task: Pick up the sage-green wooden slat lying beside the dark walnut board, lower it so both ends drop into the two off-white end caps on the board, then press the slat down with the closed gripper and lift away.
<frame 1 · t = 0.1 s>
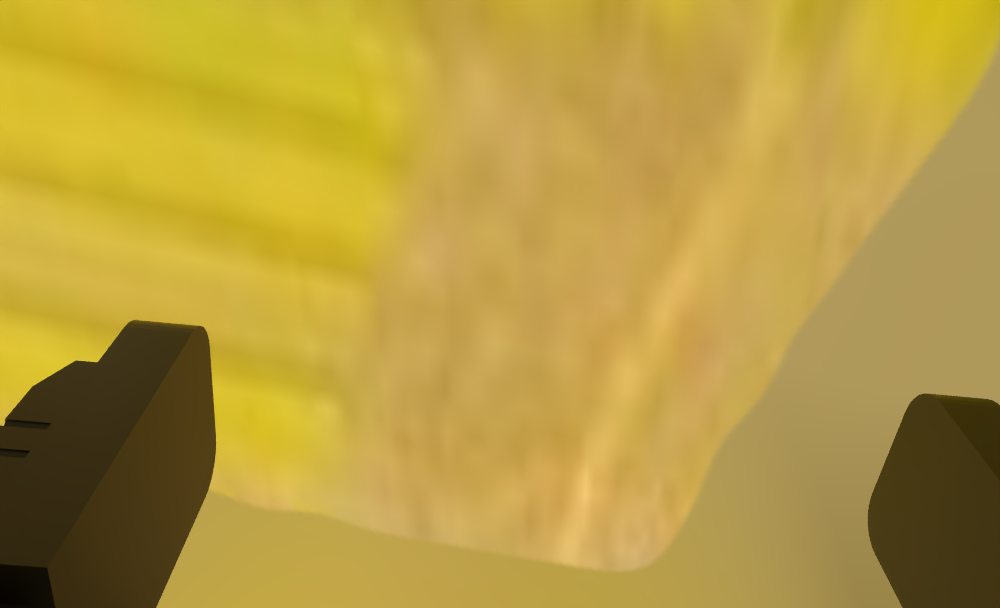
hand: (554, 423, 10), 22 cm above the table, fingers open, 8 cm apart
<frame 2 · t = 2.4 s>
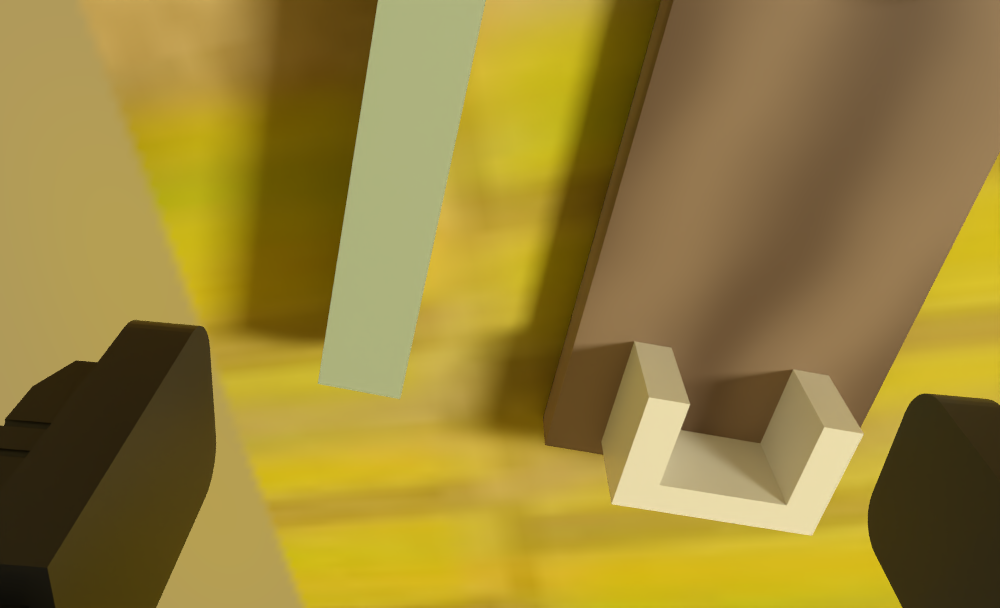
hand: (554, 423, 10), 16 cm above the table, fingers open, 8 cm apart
slat: (420, 86, 25), on the table
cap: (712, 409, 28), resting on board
board: (787, 163, 26), on the table
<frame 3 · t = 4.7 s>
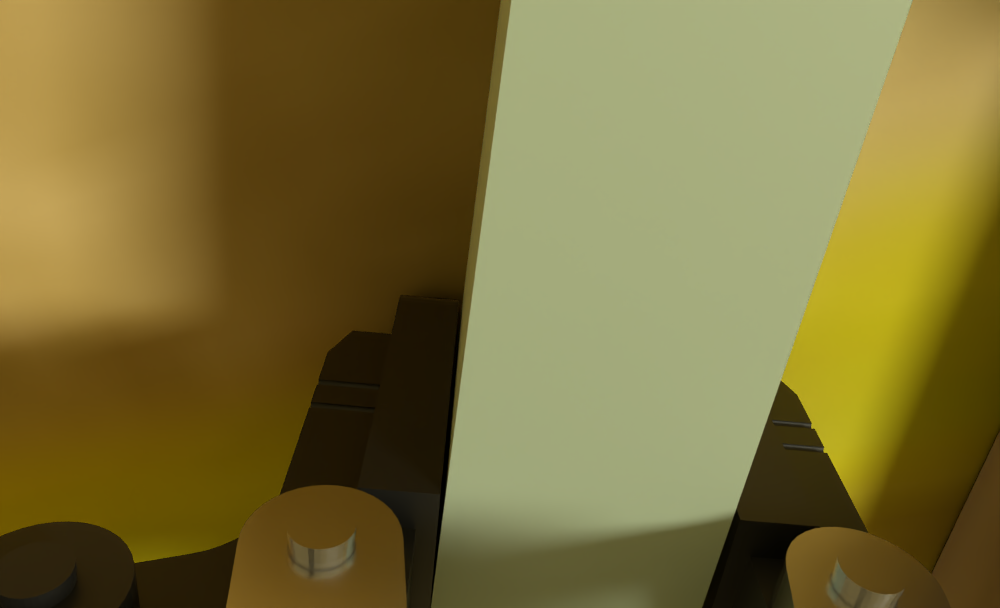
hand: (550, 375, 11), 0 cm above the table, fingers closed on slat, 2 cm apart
slat: (548, 358, 11), on the table, touching gripper
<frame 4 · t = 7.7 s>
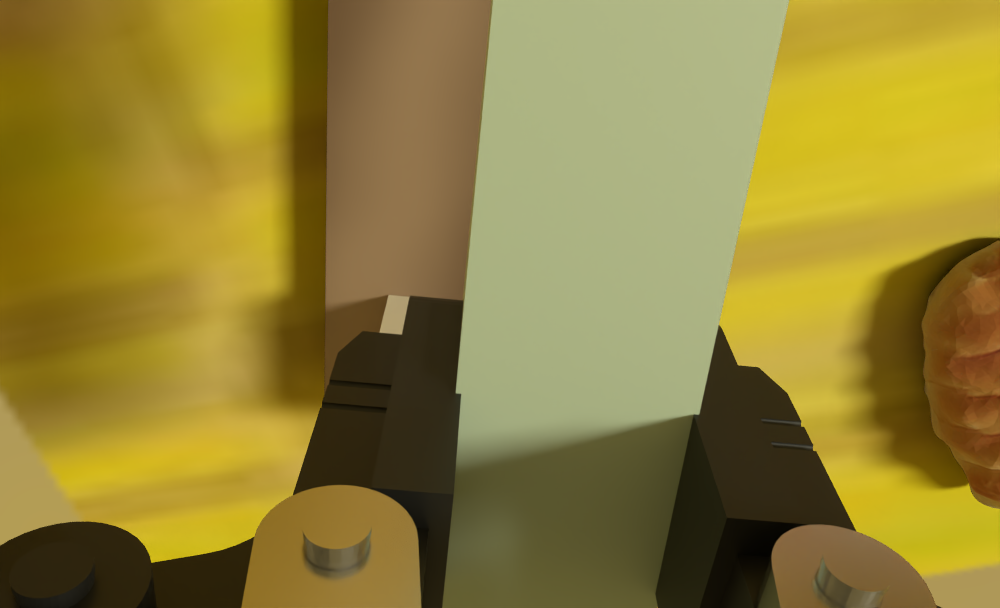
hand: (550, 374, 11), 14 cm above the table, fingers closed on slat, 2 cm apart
slat: (542, 337, 13), point 13 cm above the table, tilted 7°, touching gripper
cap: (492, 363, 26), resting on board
board: (523, 85, 23), on the table
when the fingers open (3 cm above the table, at t = 10.4 s): slat stays where it is, resting on board.
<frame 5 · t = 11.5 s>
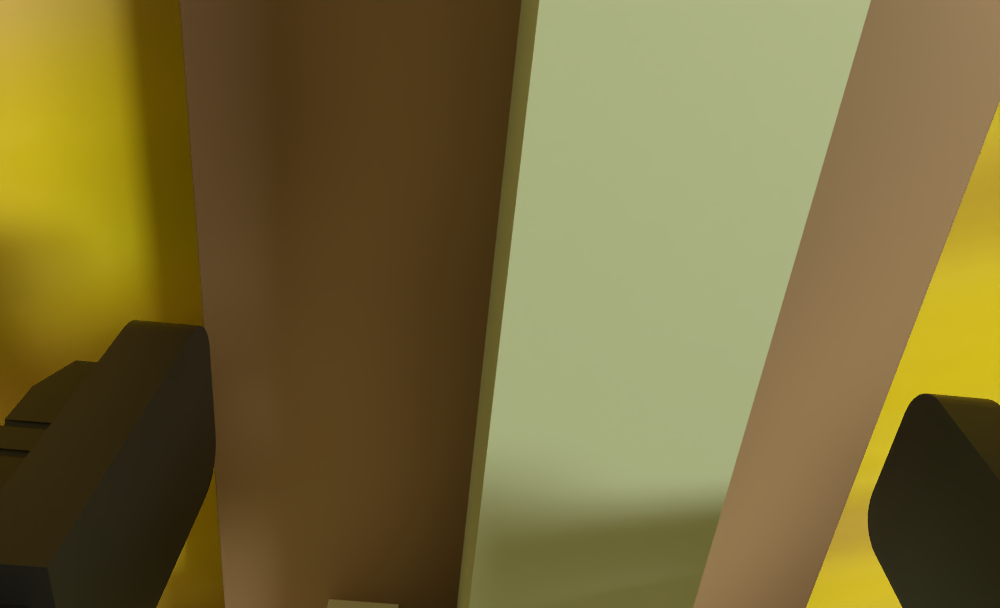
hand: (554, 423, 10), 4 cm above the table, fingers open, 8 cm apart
slat: (570, 336, 12), point 1 cm above the table, touching board
board: (554, 267, 13), on the table
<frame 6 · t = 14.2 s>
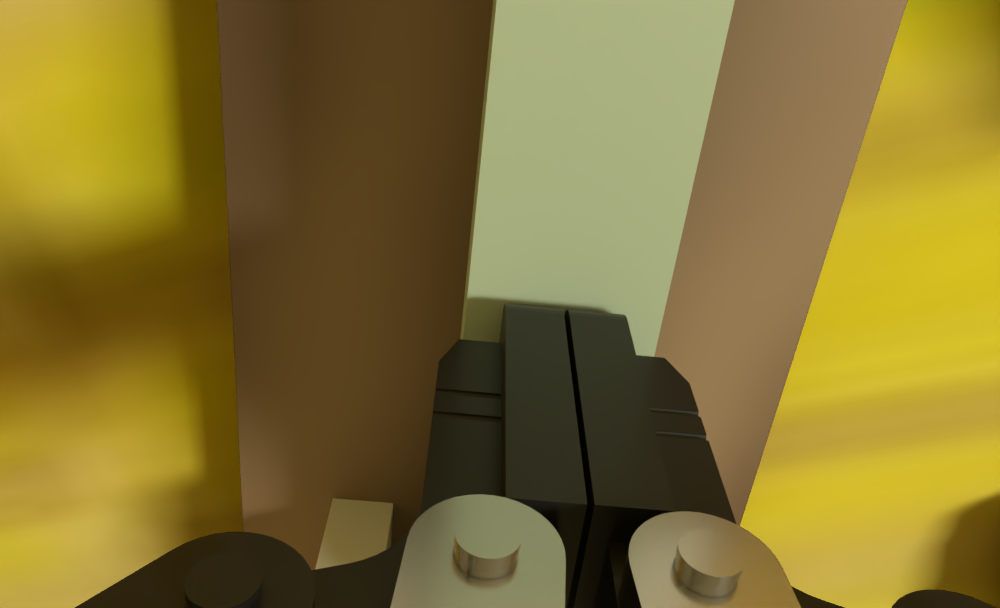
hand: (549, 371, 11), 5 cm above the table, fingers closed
slat: (539, 259, 15), point 1 cm above the table, touching board, gripper
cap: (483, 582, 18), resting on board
board: (527, 205, 16), on the table
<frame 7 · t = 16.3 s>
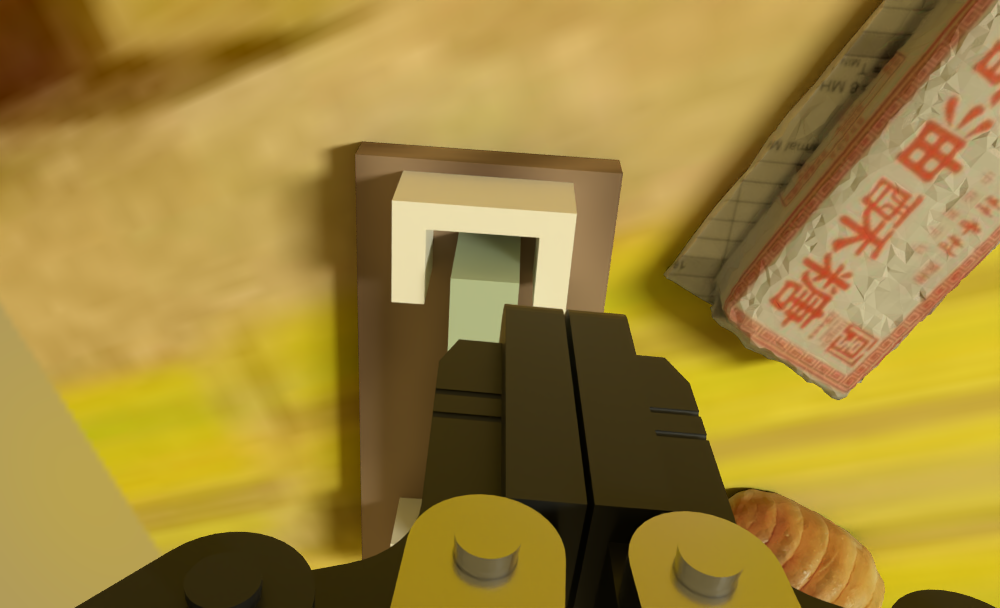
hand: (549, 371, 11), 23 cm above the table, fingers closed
slat: (479, 402, 37), point 1 cm above the table, touching board
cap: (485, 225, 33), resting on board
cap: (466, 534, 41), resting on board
board: (476, 376, 39), on the table
packaged product: (900, 150, 34), on the table
pastry: (780, 552, 44), on the table
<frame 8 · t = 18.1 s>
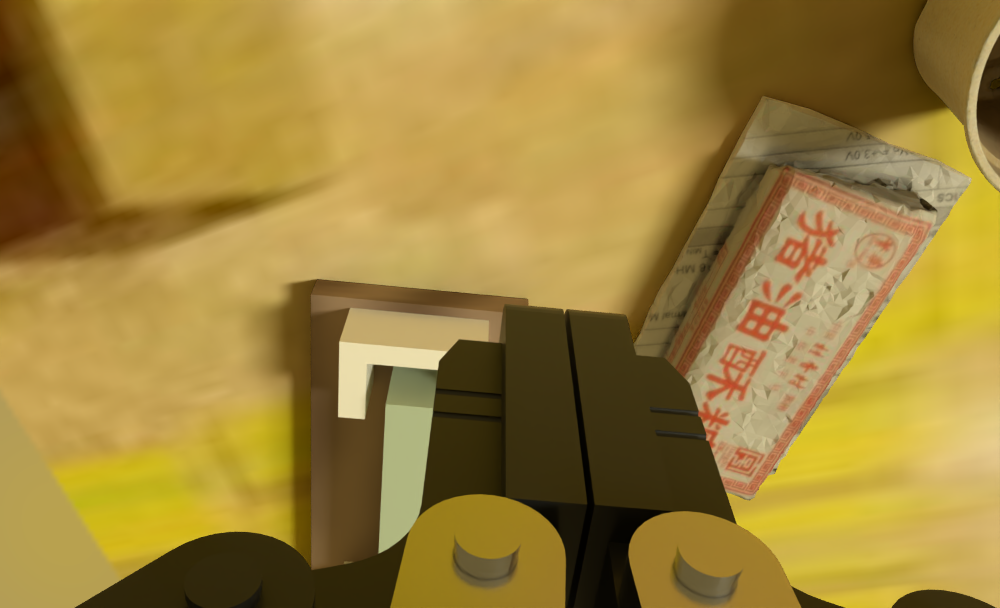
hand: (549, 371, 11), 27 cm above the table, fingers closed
slat: (412, 486, 45), point 1 cm above the table, touching board
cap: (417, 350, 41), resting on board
flower pot: (985, 24, 35), on the table
board: (411, 462, 46), on the table
packaged product: (759, 295, 42), on the table
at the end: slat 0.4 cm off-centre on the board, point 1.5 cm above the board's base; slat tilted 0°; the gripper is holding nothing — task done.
